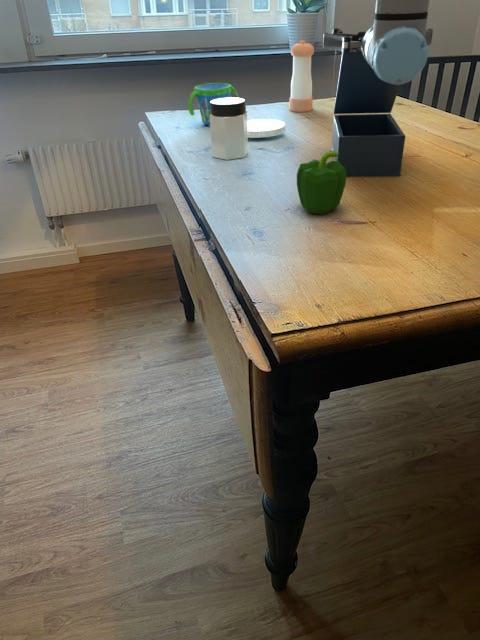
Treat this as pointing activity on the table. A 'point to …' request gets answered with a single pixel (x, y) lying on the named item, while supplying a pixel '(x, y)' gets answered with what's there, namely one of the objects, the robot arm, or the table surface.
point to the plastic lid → (264, 128)
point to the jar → (228, 128)
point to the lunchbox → (368, 144)
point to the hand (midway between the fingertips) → (372, 35)
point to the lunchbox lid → (362, 88)
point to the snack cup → (209, 97)
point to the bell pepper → (321, 184)
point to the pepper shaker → (301, 78)
